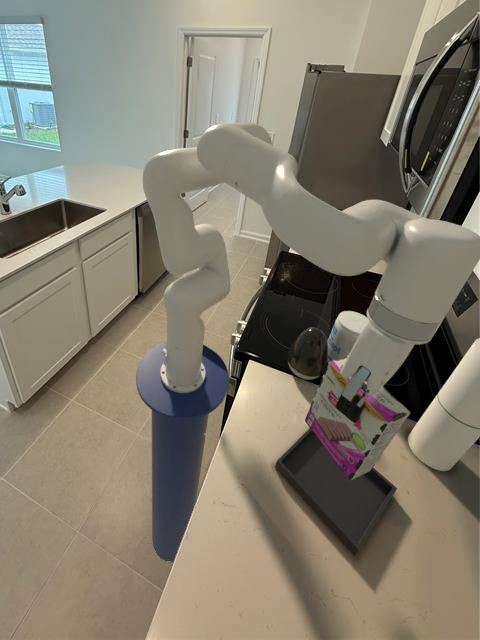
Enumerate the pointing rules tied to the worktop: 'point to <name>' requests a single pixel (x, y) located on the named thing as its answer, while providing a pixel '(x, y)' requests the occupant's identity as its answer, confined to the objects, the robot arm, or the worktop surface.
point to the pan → (335, 490)
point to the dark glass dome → (309, 354)
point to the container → (451, 417)
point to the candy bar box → (353, 438)
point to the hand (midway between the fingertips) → (356, 402)
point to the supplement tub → (345, 334)
